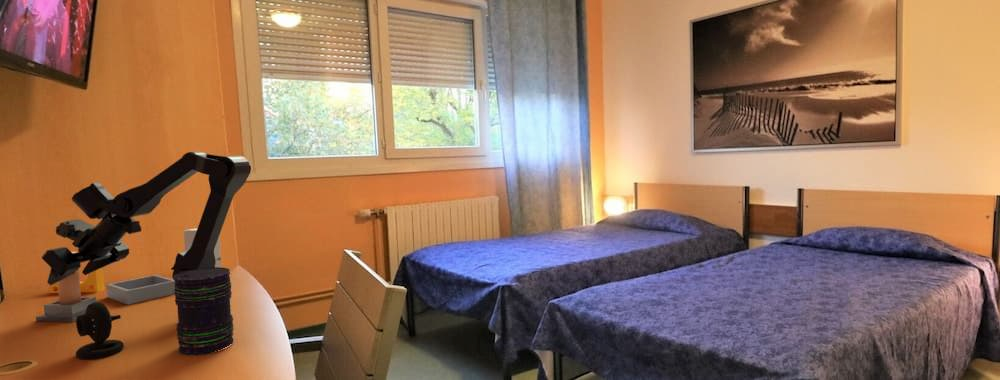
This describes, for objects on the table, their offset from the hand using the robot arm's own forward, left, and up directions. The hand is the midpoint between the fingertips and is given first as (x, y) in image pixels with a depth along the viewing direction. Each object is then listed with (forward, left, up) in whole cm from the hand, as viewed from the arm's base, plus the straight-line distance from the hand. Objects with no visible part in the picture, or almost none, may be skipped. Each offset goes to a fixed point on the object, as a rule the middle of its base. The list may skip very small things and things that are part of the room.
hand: (67, 278), depth 125 cm
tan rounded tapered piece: (0, 0, -8) cm, 8 cm away
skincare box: (+11, -37, -9) cm, 40 cm away
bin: (+4, -17, -9) cm, 20 cm away
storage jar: (-47, -7, -9) cm, 49 cm away
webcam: (-33, +6, -9) cm, 35 cm away
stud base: (0, 0, -9) cm, 9 cm away
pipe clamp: (+23, -9, -9) cm, 27 cm away
